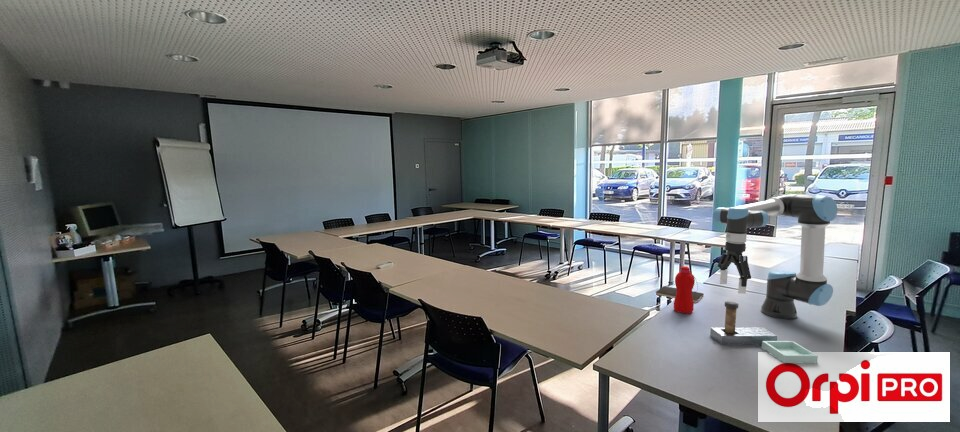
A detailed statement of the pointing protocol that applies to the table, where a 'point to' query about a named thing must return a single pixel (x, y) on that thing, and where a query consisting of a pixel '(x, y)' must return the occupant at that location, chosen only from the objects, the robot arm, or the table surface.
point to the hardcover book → (673, 291)
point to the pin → (730, 317)
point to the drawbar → (743, 336)
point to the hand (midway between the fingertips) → (732, 288)
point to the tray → (789, 352)
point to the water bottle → (684, 291)
